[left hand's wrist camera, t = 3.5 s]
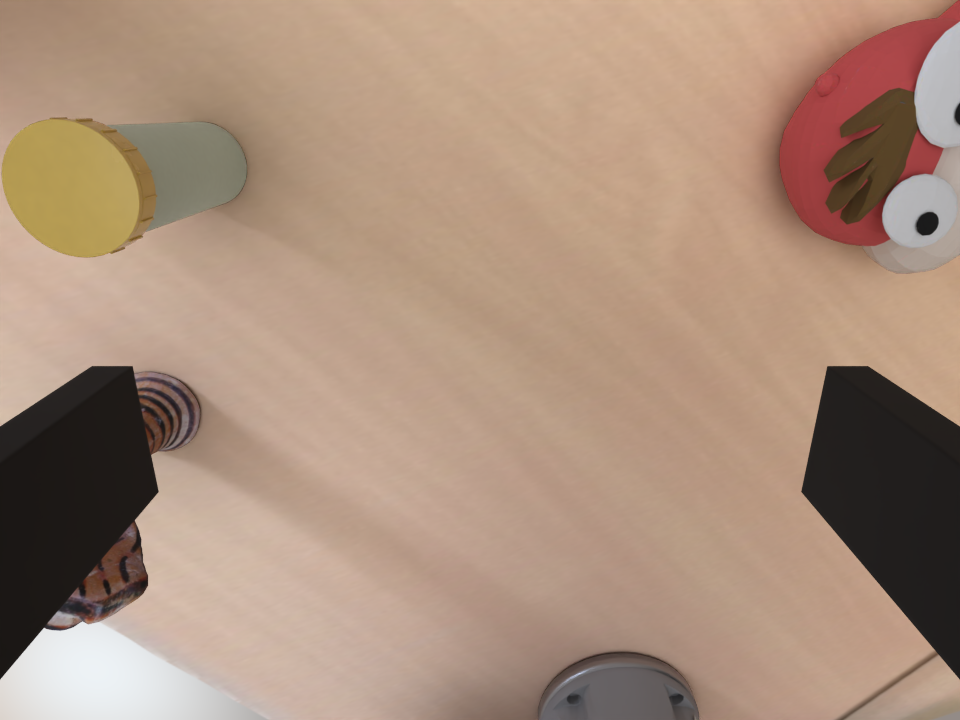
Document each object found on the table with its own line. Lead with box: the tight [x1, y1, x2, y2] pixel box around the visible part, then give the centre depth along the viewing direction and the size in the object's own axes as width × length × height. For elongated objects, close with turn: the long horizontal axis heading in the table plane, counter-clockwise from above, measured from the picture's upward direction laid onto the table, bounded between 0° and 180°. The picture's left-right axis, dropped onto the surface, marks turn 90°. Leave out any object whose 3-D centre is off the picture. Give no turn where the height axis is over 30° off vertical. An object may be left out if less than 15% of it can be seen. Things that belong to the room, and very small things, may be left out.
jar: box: [106, 122, 247, 232], centre depth 38 cm, size 6×6×16 cm
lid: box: [2, 118, 157, 257], centre depth 31 cm, size 6×6×2 cm
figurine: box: [44, 372, 200, 630], centre depth 37 cm, size 15×8×30 cm, turn 71°
